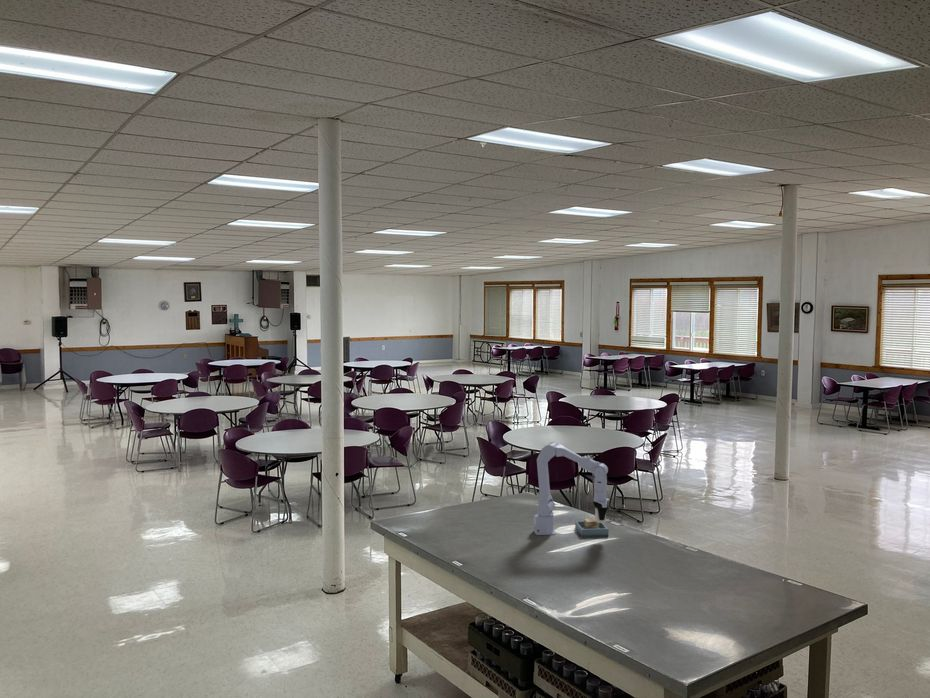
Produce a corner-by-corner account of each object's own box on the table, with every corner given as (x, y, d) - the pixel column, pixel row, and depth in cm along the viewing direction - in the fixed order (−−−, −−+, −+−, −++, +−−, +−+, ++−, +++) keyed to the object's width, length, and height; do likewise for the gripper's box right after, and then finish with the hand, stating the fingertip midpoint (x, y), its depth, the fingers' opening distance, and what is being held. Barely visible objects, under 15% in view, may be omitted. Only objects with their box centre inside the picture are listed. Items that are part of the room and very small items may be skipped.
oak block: (586, 531, 327) (586, 521, 327) (584, 528, 332) (584, 518, 332) (598, 531, 327) (598, 521, 327) (596, 528, 332) (596, 518, 332)
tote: (581, 536, 323) (581, 529, 322) (575, 528, 336) (575, 521, 335) (608, 536, 323) (608, 528, 323) (601, 527, 336) (601, 520, 336)
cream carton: (597, 522, 317) (597, 510, 316) (595, 520, 321) (595, 507, 320) (605, 522, 317) (605, 510, 317) (603, 520, 321) (603, 507, 321)
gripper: (613, 493, 311) (613, 522, 312) (604, 485, 326) (604, 513, 326) (598, 494, 311) (598, 523, 311) (590, 486, 325) (590, 514, 326)
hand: (600, 518), depth 319 cm, fingers closed on cream carton, 4 cm apart
